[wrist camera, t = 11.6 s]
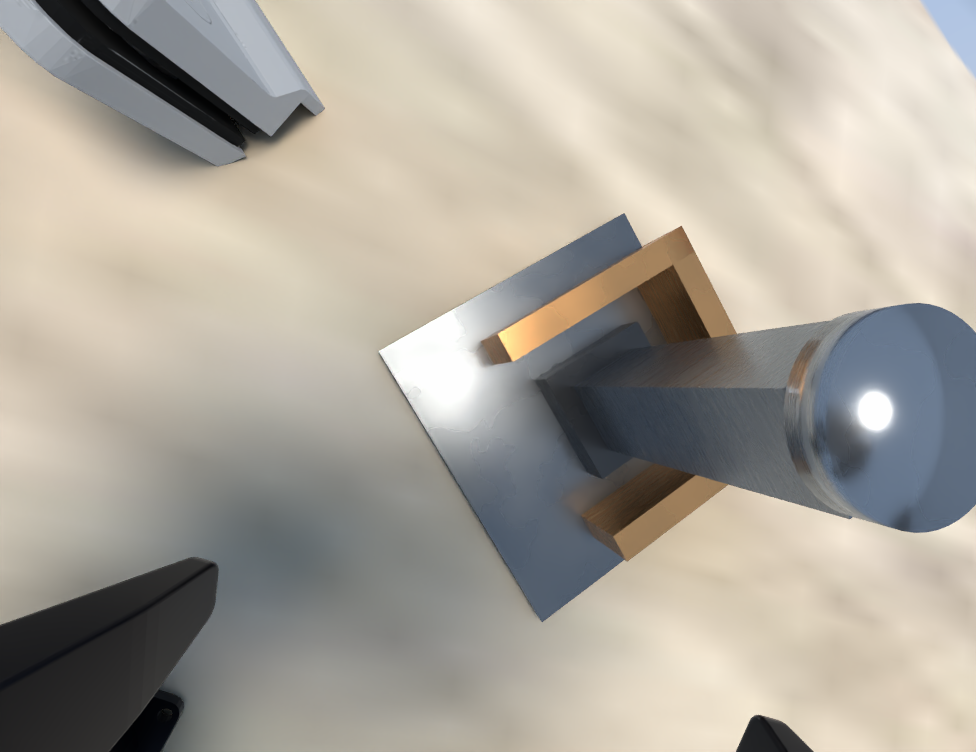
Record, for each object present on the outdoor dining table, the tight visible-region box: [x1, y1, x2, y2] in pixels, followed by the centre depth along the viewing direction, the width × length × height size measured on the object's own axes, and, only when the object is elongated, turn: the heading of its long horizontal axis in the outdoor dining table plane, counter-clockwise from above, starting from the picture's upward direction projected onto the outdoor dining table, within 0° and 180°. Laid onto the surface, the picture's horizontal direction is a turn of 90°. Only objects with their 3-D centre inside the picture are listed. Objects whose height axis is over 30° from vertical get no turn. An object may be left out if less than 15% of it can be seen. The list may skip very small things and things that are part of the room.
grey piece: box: [534, 303, 976, 533], centre depth 15 cm, size 5×5×13 cm
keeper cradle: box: [379, 214, 737, 622], centre depth 20 cm, size 13×14×4 cm
